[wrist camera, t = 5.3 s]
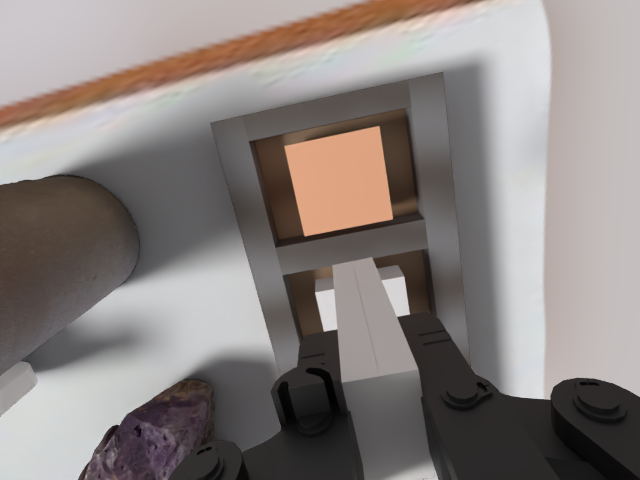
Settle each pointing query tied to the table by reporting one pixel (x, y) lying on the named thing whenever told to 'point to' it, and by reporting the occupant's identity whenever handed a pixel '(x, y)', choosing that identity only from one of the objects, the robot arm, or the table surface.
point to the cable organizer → (15, 384)
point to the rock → (155, 435)
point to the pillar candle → (57, 257)
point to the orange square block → (340, 181)
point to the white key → (390, 280)
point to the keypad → (356, 242)
